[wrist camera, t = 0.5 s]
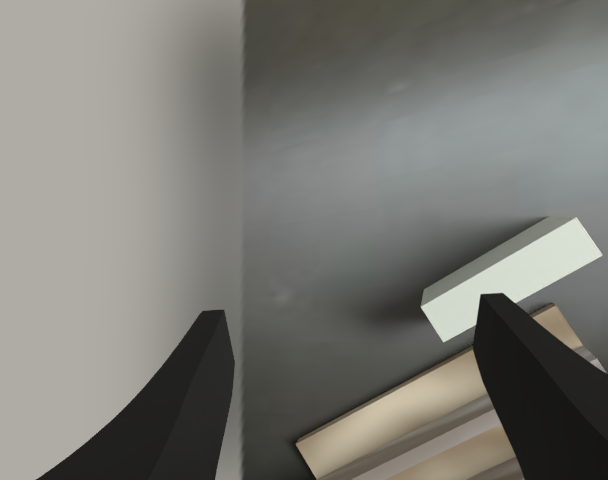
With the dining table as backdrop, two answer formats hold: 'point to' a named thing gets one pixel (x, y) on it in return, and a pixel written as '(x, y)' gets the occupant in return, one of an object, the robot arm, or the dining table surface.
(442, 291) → the door panel
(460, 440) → the door track base
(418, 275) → the dining table surface
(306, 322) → the dining table surface
